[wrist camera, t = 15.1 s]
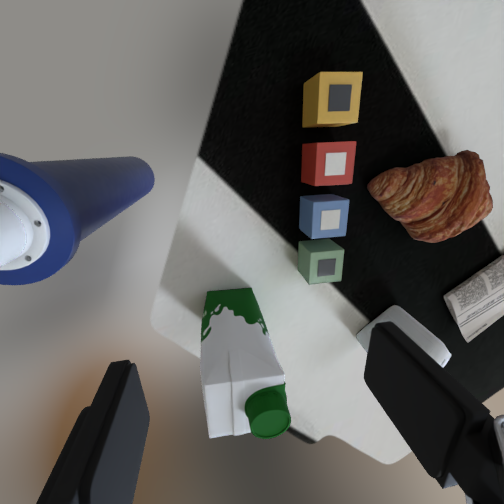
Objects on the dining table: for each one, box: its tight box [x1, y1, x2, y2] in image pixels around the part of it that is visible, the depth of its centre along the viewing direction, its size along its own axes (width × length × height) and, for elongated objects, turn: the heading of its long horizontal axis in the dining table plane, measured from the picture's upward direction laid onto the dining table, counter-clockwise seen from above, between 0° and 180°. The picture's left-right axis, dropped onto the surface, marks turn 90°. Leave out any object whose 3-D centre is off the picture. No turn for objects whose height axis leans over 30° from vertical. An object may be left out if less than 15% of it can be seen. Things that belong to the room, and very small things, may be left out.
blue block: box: [299, 194, 349, 239], centre depth 36 cm, size 5×5×5 cm
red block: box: [301, 141, 356, 186], centre depth 33 cm, size 5×5×5 cm
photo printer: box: [357, 305, 451, 367], centre depth 43 cm, size 10×4×12 cm, turn 133°
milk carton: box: [200, 288, 291, 439], centre depth 33 cm, size 9×9×20 cm
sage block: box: [298, 239, 344, 285], centre depth 39 cm, size 5×5×5 cm
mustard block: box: [302, 72, 363, 127], centre depth 31 cm, size 5×5×5 cm
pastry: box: [367, 150, 493, 243], centre depth 37 cm, size 17×15×8 cm
